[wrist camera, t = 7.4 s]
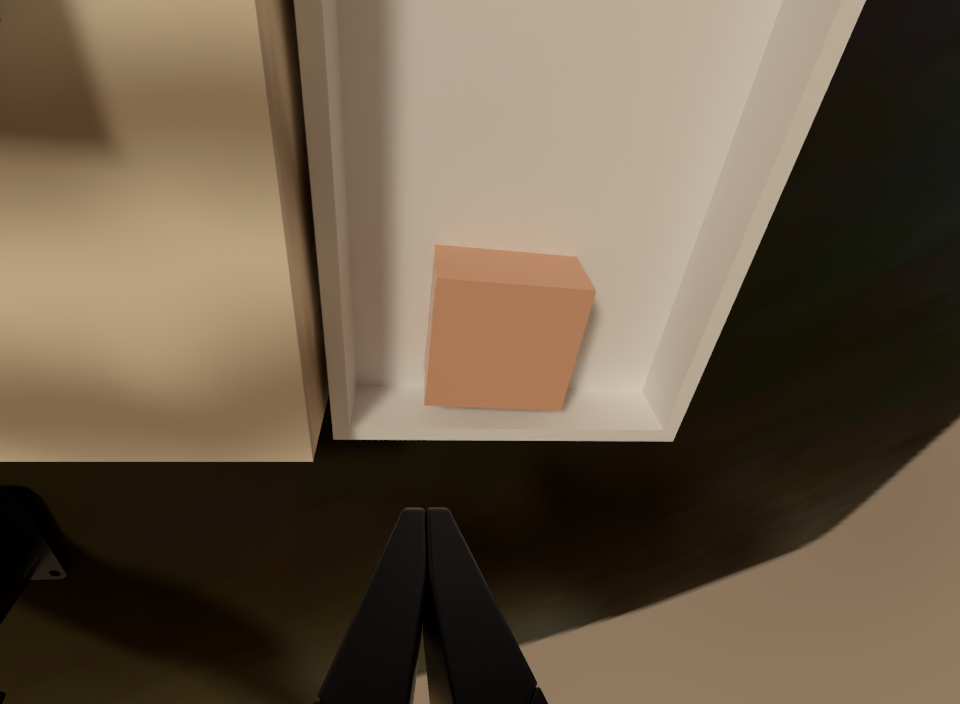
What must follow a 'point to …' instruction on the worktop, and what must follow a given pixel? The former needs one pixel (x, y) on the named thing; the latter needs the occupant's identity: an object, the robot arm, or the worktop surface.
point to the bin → (550, 184)
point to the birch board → (156, 234)
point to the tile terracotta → (503, 328)
